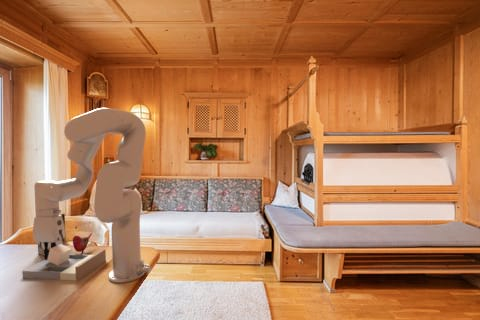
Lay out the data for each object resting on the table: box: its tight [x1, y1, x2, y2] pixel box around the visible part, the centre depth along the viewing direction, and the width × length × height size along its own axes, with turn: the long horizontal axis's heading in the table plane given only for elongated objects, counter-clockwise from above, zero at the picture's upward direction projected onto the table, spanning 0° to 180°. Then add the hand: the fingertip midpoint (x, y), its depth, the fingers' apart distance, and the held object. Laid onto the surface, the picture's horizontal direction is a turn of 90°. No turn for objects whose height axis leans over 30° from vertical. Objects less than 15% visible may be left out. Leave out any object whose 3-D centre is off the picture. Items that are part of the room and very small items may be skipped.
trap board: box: [22, 249, 107, 281], centre depth 106 cm, size 22×16×5 cm
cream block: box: [47, 244, 72, 265], centre depth 106 cm, size 5×5×5 cm
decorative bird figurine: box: [72, 232, 93, 254], centre depth 121 cm, size 3×18×10 cm, turn 5°
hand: (49, 258), depth 107 cm, fingers closed
